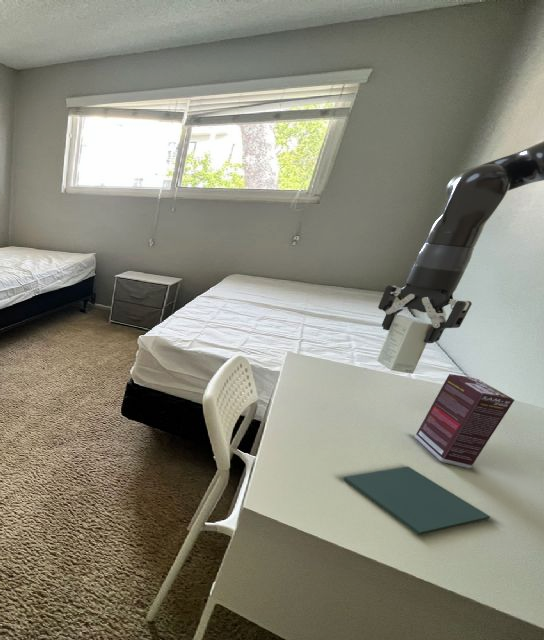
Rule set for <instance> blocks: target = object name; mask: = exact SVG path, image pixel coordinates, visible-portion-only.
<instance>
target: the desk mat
mask: <svg viewBox="0 0 544 640" xmlns="http://www.w3.org/2000/svg"><path fill="white" fill-rule="evenodd" d="M343 481H345V482H346V483H348V484H349V485H350V486H352V487H353V488H354V489H355V490H357V491H359V492H360V493H361V494H362V495H364V496H365V497H366V498H368V499H369V500H370V501H372V502H373V503H374V504H376V505H377V506H379V507H380V508H382V510H384V511H385V512H387V513H388V514H389V515H391V516H392V517H394V518H395V519H396V520H397V521H399V522H400V523H402V524H403V525H405V527H407V528H408V529H410V530H411V531H412V532H413V533H415V534H417V535H418V536H421V535H425V534H430V533H433V532H439V531H443V530H447V529H451V528H456V527H460V526H464V525H468V524H473V523H478V522H481V521H486V520H489V519H490V518H491V516H490V515H489V514H488V513H486V512H484V511H482V510H480V509H479V508H477V507H476V506H474V505H472V504H471V503H470V502H469V503H468V501H466V500H465V499H462V498H460V497H459V496H458V495H455V494H454V493H453V492H451V491H449V490H448V489H446V488H445V487H443V486H441V485H440V484H437V483H436V482H434V481H433V480H431V479H430V478H428V477H426V476H424V475H423V474H421V473H419V472H418V471H416V470H414V469H413V468H411V467H410V466H403V467H397V468H391V469H385V470H379V471H378V470H377V471H371V472H366V473H365V472H364V473H360V474H359V473H358V474H353V475H347V476H344V477H343Z"/></svg>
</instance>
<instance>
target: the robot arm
mask: <svg viewBox="0 0 544 640" xmlns="http://www.w3.org/2000/svg"><path fill="white" fill-rule="evenodd" d="M543 181H544V141H541V142H539V143H536V144H534V145H532V146H529V147H527V148H525V149H523V150H520V151H518V152H515V153H512V154H509V155H506V156H503V157H500V158H497V159H493V160H491V161H488V162H484V163H483V164H480V165H476V166H474V167H471V168H468V169H466V170H465V169H464V170H463V171H461V172H459V173H458V174H456V175H455V176H453V177H452V178H451V179H450V181H448V183H447V185H446V188H445V194H446V197H448V201H447V204H446V206H445V207H444V210H443V212H442V214H441V215H440V216H439V217H438V218H437V219H436V221H434V223H433V225H432V227H431V229H430V231H429V233H428V234H427V238H426V240H425V243H424V244H423V246H422V247H421V249H420V251H419V252H418V255H417V256H416V258H415V260H414V263H413V265H412V268H411V270H410V273H409V275H408V277H407V279H406V284H405V286H404V287H401V286H399V285H387V286H386V287H385V289H384V292H383V294H382V297H381V299H380V301H379V304H378V306H377V308H378V310H381V311H383V312H385V316H384V318H383V321H382V323H381V327H382V329H383V330H385V331H389V329H390V326H391V324H392V321H393V319H394V317H395V315H399V314H400V313H402V312H403V311H405V310H416V311H418V312H421V313H426V315H427V317H428V318H429V319H430V323H432V325H433V327H430V329H429V331H428V333H427V335H426V337H425V339H424V342H425V343H427V344H434V343H437V342H439V341H440V339H441V337H442V335H443V333H444V331H445V330H446V329H459V328H460V327H462V326H461V325H462V324H463V322H464V321H465V318H466V316H467V314H468V312H469V310H470V309H471V307H472V305H473V302H471V301H470V300H460V299H457V298H454V296H453V295H454V292H455V291H456V290H457V288H458V287H459V284H460V282H461V280H462V278H463V276H464V274H465V272H466V270H467V268H468V266H469V263H470V262H471V259H472V257H473V253H474V250H475V247H476V245H477V243H478V241H479V239H480V238H481V235H482V233H483V230H484V228H485V226H486V223H487V222H488V221H489V220H490V218H491V217H492V216H493V214H494V213H495V211H496V210H497V209H498V207H499V206H500V204H501V203H502V202H503V200H504V199H505V197H506V195H507V194H508V192H509V191H512V190H515V189H518V188H521V187H523V186H526V185H530V184H533V183H538V182H543ZM399 295H400V296H401V298H402V299H400V300H399V301H397V302H395V300H396V298H397V296H399ZM448 305H450V309H451V311H450V313H449V315H448V317H447V314H446V310H445V308H444V307H446V306H448ZM446 317H447V318H446Z"/></svg>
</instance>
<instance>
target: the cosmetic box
mask: <svg viewBox="0 0 544 640" xmlns="http://www.w3.org/2000/svg"><path fill="white" fill-rule="evenodd" d="M430 327H433V325H432V322H429V321H427V320H424V319H421V318H419V317H415V316H409V315H401V314H397V315H395V317H394V319H393V321H392V324H391V326H390V329H389V330H387V333H386V336H385V338H384V341H383V343H382V346H381V348H380V350H379V353H378V355H377V357H376V362H378V363H379V364H380V365H382V366H384V368H387V369H388V370H390V371H392V372H400V373H404V374H405V373H406V374H411V375H413V374H414V372H415V371H416V368H417V366H418V363H419V361H420V359H421V357H422V354H423V352H424V350H425V348H426V346H427V344H428V343H425V342H424V339H425V337H426V335H427V333H428V331H429V329H430Z"/></svg>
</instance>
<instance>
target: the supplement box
mask: <svg viewBox="0 0 544 640" xmlns="http://www.w3.org/2000/svg"><path fill="white" fill-rule="evenodd" d="M514 402H515V399H514V398H512V397H511V396H509V395H507V394H505V393H503V392H502V391H500V390H498V389H497V388H494V387H493V386H491V385H490V384H488V383H485V382H484V381H482V380H480V379H479V378H475V377H468V376H464V375H459V374H453V373H449V374H448V375H447V377H446V379H445V381H444V382H443V384H442V386H441V388H440V390H439V392H438V394H437V395H436V397H435V399H434V401H433V403H432V405H430V407H429V410H428V412H427V414H426V415H425V417H424V419H423V421H422V422H421V425H420V427H419V428H418V430H417V432H416V434H415V435H414V438H415V439H416V440H417V441H418V442H419V443H420V444H421V445H422V446H424V447H425V449H427V450H428V451H429V452H430V453H431V454H432V455H433V456H434V457H435V458H437V459H438V460H439V462H440V463H441V462H442V463H445V464H449V465H452V466H455V467H461V468H466V469H471V468H472V467H473V465H474V464H475V462H476V461H477V459H478V457H479V456H480V454H481V453H482V451H483V450H484V448H485V446H486V445H487V444H488V442H489V440H490V439H491V437H492V436H493V435H494V433H495V431H496V430H497V428H498V427H499V425H500V423H501V422H502V420H503V419H504V417H505V415H506V414H507V413H508V411H509V410H510V408H511V406H512V405H513V403H514Z"/></svg>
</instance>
